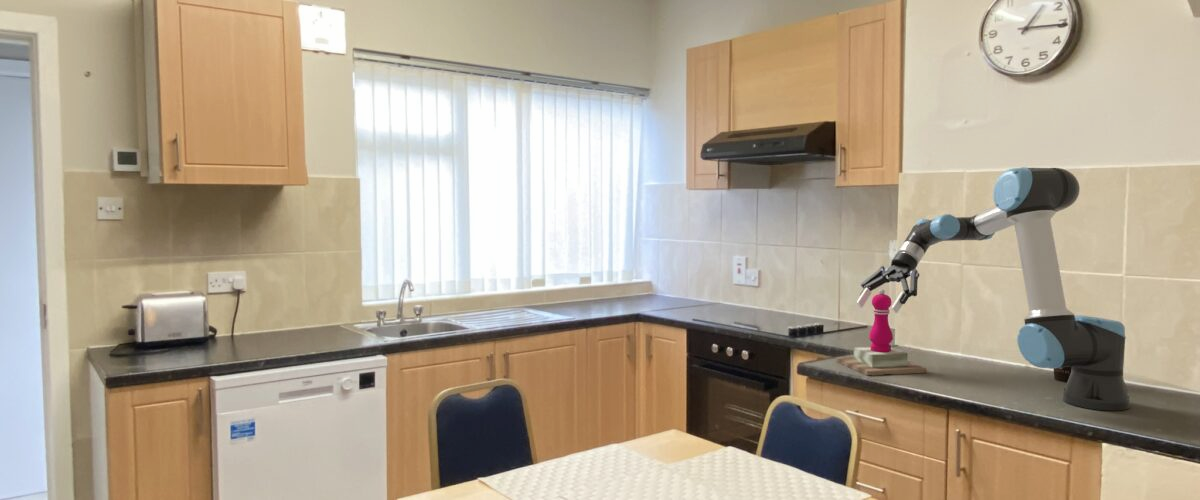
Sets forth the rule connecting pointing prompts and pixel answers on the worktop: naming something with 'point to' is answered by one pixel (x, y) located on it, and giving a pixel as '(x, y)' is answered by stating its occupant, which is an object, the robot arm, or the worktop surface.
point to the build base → (881, 369)
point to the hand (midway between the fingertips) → (876, 307)
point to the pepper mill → (881, 323)
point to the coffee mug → (1062, 374)
